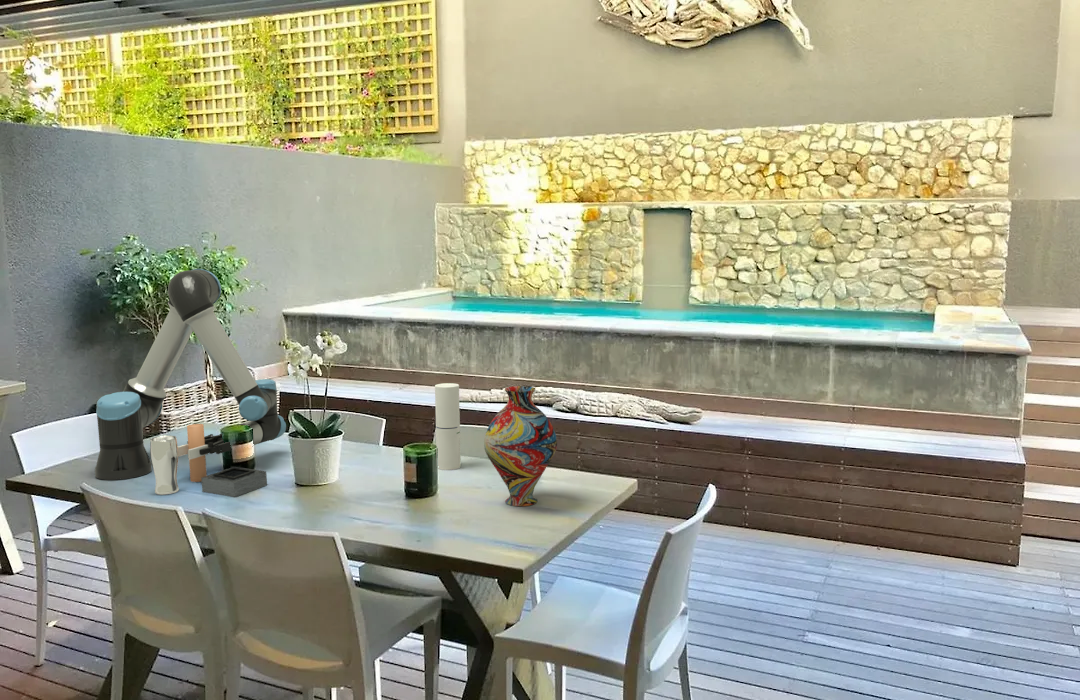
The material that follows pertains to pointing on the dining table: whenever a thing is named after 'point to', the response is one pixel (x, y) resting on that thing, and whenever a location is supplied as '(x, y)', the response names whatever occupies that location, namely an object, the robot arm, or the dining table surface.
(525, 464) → the vase
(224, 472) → the collar block
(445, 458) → the cylindrical container
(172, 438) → the beer glass
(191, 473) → the terracotta peg
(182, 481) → the dining table surface
